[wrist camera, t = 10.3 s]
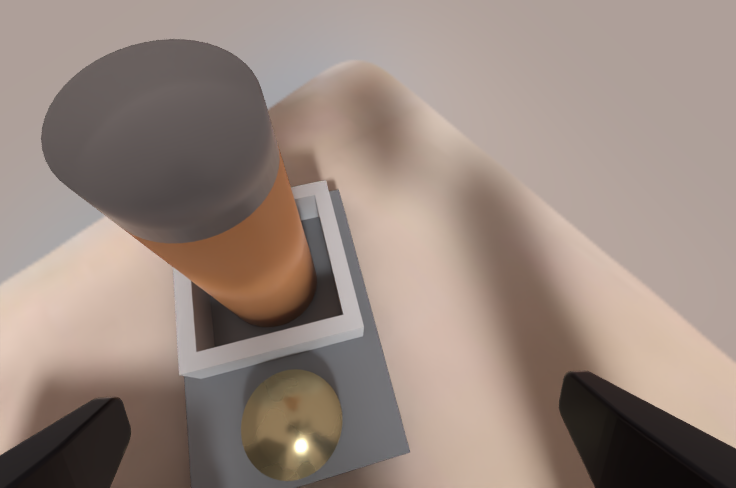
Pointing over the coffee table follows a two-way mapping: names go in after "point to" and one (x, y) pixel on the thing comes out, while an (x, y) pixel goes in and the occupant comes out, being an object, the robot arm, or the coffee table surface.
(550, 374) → the coffee table surface
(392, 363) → the coffee table surface
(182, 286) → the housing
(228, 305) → the peg
